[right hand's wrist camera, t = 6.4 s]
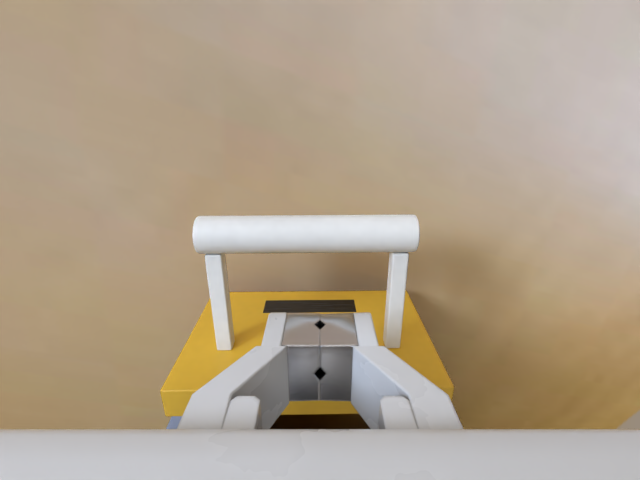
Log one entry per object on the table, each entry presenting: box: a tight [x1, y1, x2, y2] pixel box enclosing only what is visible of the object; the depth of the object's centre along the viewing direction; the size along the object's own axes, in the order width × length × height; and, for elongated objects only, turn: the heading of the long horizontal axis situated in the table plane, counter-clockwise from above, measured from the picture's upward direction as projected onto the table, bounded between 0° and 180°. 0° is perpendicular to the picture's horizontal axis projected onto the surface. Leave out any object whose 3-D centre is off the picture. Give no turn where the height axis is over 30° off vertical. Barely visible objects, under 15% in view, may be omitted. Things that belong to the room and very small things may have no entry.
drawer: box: [160, 215, 454, 429], centre depth 17 cm, size 21×10×7 cm, turn 0°
